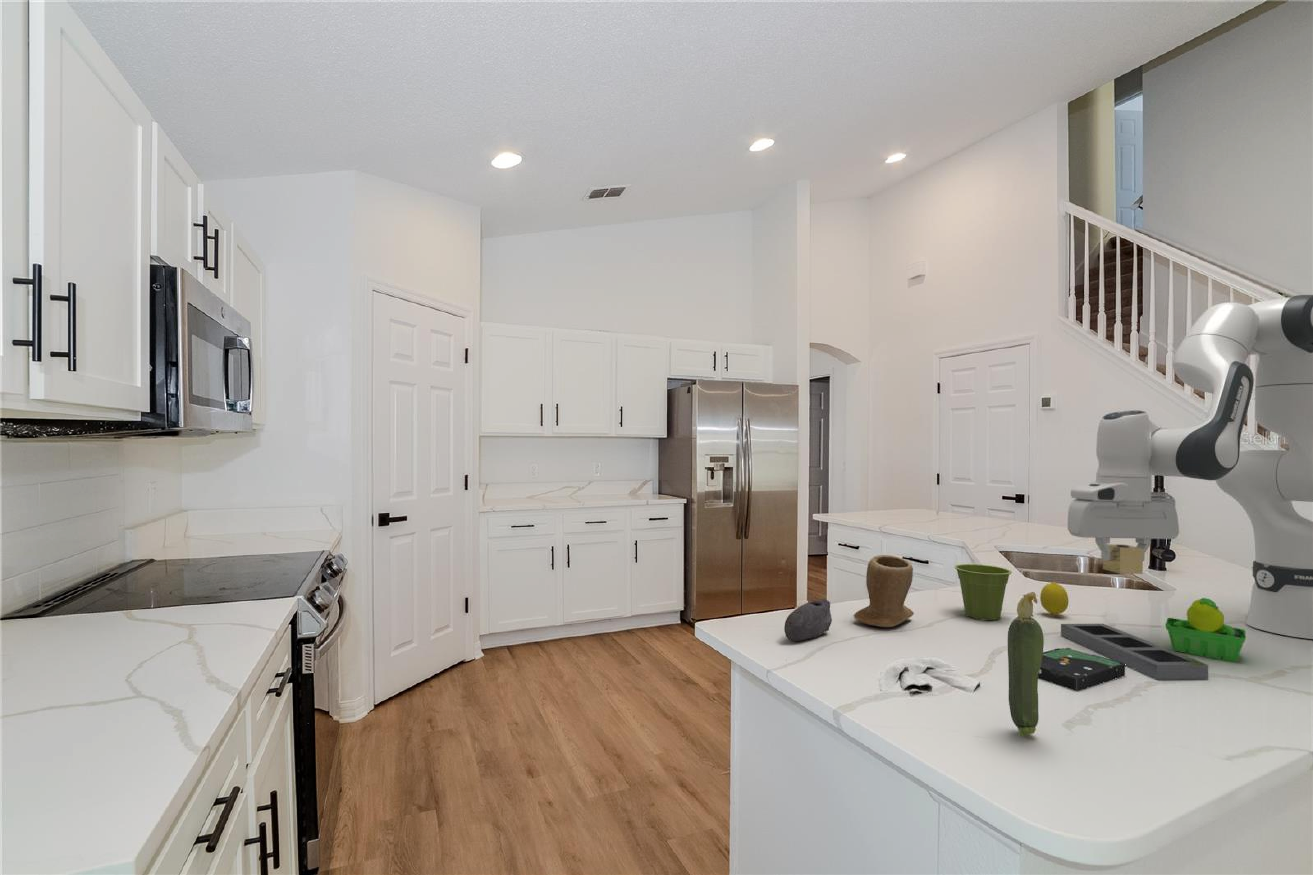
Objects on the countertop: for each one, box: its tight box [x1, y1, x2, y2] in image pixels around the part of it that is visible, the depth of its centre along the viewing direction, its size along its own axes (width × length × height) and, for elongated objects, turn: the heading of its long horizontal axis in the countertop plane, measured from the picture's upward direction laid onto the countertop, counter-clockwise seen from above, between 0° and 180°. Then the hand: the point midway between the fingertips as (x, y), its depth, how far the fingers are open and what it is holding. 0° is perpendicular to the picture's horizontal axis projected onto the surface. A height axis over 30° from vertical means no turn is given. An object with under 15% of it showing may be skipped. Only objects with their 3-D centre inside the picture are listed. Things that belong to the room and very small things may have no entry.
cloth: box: [878, 657, 981, 697], centre depth 104 cm, size 20×22×2 cm
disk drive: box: [1038, 647, 1126, 692], centre depth 108 cm, size 10×3×15 cm
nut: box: [1102, 543, 1144, 575], centre depth 122 cm, size 4×4×5 cm
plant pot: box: [954, 563, 1013, 621], centre depth 143 cm, size 12×12×11 cm
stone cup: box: [853, 554, 915, 628], centre depth 138 cm, size 15×12×15 cm
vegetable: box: [1007, 591, 1045, 738], centre depth 85 cm, size 4×4×20 cm
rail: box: [1060, 623, 1209, 681], centre depth 117 cm, size 9×24×2 cm, turn 1°
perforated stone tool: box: [783, 598, 833, 642], centre depth 128 cm, size 15×5×7 cm, turn 130°
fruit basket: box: [1164, 597, 1247, 663], centre depth 118 cm, size 11×9×11 cm
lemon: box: [1039, 581, 1069, 617], centre depth 143 cm, size 6×6×8 cm
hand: (1122, 560), depth 122 cm, fingers closed on nut, 4 cm apart
